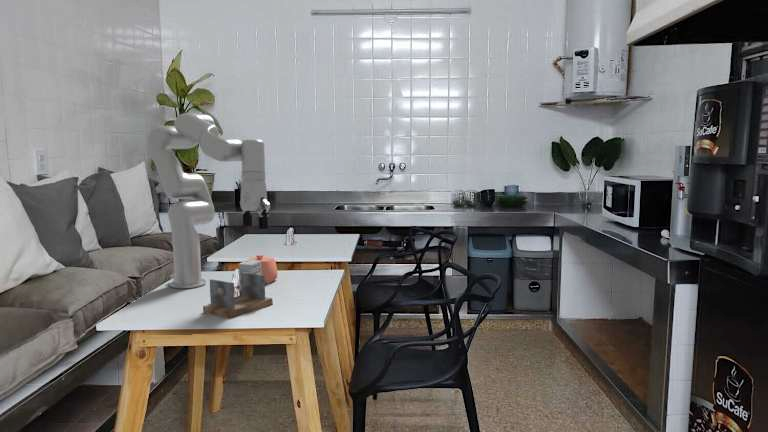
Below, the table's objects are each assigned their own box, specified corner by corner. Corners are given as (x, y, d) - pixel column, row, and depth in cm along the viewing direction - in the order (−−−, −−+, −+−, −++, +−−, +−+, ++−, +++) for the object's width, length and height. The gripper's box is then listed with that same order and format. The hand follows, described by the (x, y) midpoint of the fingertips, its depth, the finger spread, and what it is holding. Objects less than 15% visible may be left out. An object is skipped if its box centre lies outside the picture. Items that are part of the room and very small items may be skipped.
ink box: (252, 298, 194) (251, 264, 193) (239, 298, 195) (237, 264, 194) (262, 292, 202) (261, 259, 201) (249, 292, 203) (248, 259, 202)
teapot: (282, 277, 226) (281, 251, 225) (264, 288, 209) (263, 260, 207) (255, 276, 228) (254, 251, 227) (235, 287, 211) (234, 259, 210)
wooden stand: (203, 312, 178) (201, 280, 177) (246, 299, 193) (245, 270, 192) (230, 318, 171) (228, 285, 170) (272, 304, 186) (271, 274, 185)
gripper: (230, 176, 195) (232, 226, 197) (258, 178, 183) (259, 231, 185) (249, 175, 201) (251, 224, 203) (277, 177, 188) (279, 228, 190)
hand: (255, 227), depth 194 cm, fingers open, 9 cm apart
